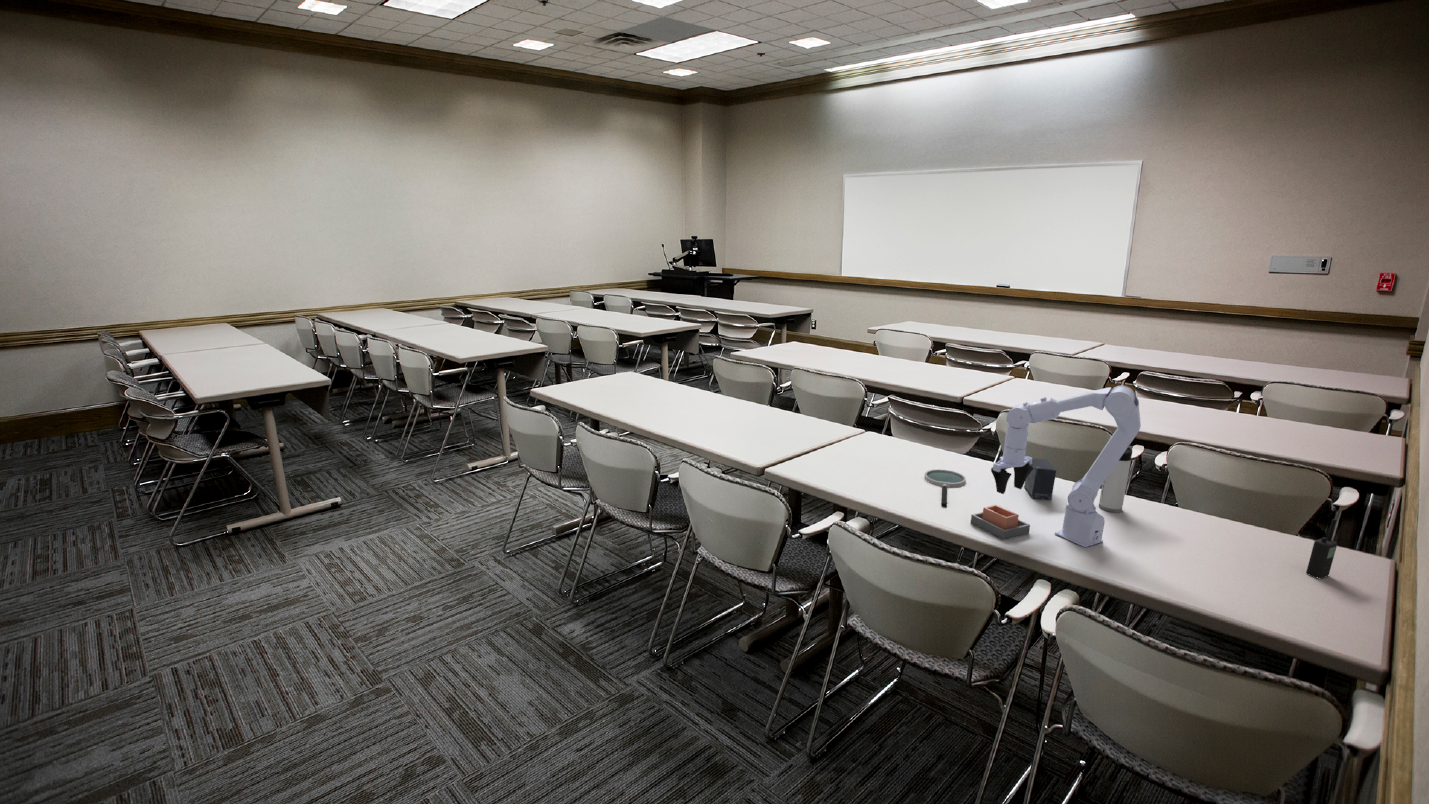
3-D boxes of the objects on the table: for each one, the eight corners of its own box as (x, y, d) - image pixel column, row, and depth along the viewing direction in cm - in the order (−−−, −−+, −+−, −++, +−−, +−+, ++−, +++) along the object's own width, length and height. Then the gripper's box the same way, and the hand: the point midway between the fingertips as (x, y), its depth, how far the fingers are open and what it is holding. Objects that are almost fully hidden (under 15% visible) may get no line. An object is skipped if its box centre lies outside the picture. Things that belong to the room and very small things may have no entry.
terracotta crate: (1016, 531, 191) (1018, 514, 190) (1004, 534, 189) (1006, 518, 188) (993, 520, 198) (995, 504, 197) (981, 523, 196) (983, 507, 194)
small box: (1053, 500, 213) (1057, 469, 211) (1031, 498, 214) (1035, 468, 212) (1044, 488, 223) (1048, 458, 221) (1023, 486, 224) (1027, 457, 222)
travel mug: (1124, 508, 208) (1135, 447, 203) (1118, 514, 204) (1130, 452, 198) (1101, 502, 212) (1112, 442, 207) (1096, 508, 208) (1106, 447, 202)
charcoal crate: (1028, 534, 190) (1030, 524, 190) (1003, 541, 186) (1004, 531, 185) (995, 518, 201) (996, 508, 200) (970, 524, 197) (971, 514, 196)
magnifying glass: (921, 505, 210) (921, 499, 209) (925, 472, 238) (925, 466, 238) (966, 511, 206) (967, 505, 205) (964, 477, 234) (965, 471, 234)
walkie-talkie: (1319, 579, 167) (1334, 524, 163) (1303, 573, 170) (1318, 518, 166) (1330, 575, 169) (1345, 521, 165) (1314, 569, 172) (1328, 515, 168)
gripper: (1019, 438, 200) (1014, 481, 203) (986, 446, 193) (981, 490, 197) (1041, 445, 194) (1034, 489, 197) (1007, 453, 187) (1001, 498, 191)
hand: (1009, 490), depth 197 cm, fingers open, 7 cm apart
